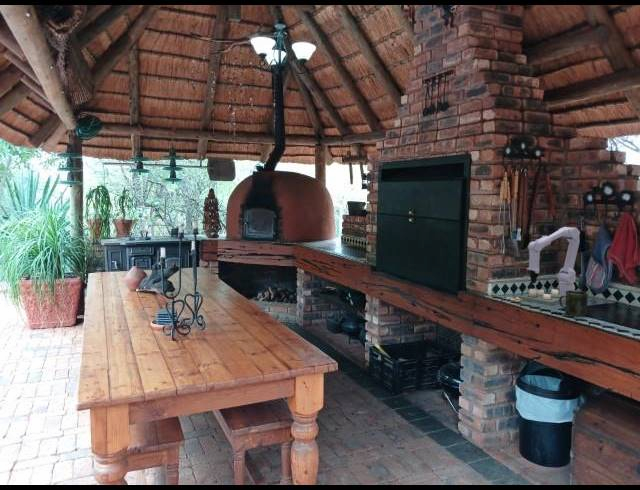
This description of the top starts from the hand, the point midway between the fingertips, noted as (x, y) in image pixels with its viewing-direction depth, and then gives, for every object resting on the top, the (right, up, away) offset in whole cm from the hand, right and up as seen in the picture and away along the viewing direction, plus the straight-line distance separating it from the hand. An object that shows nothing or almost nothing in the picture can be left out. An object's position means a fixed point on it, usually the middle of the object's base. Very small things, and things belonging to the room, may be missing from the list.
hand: (533, 283), depth 310 cm
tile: (-11, -10, 0) cm, 15 cm away
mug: (+5, -14, -37) cm, 40 cm away
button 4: (-1, -8, -2) cm, 8 cm away
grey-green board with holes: (+5, -10, -2) cm, 12 cm away
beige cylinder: (+6, -9, +4) cm, 12 cm away
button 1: (+11, -8, -3) cm, 15 cm away
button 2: (+4, -11, -9) cm, 14 cm away
